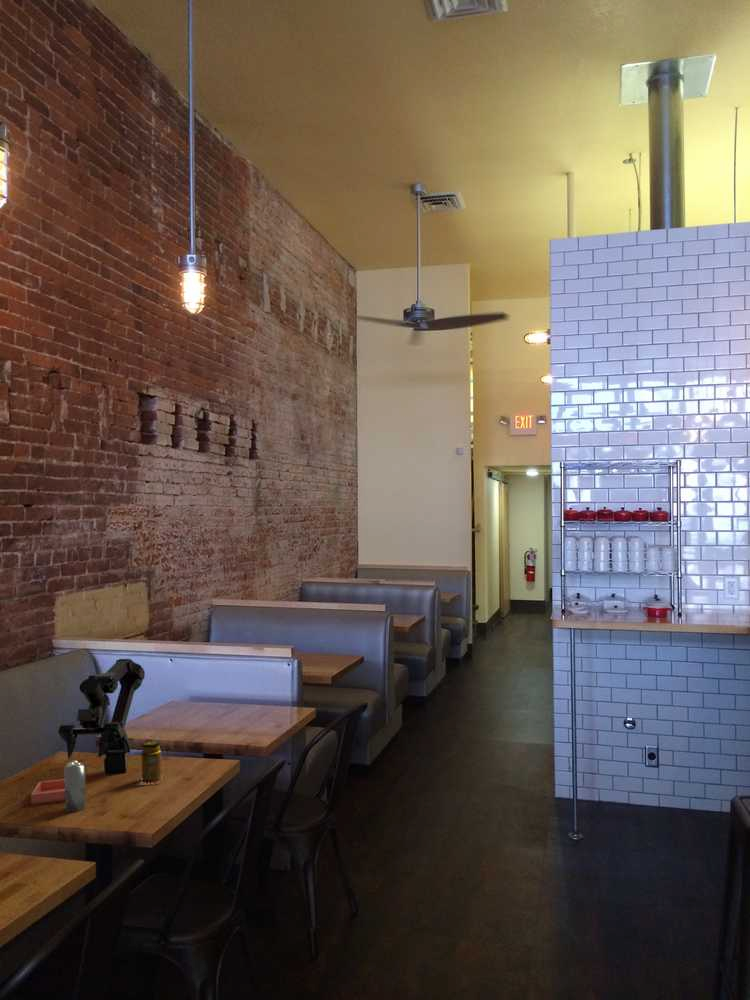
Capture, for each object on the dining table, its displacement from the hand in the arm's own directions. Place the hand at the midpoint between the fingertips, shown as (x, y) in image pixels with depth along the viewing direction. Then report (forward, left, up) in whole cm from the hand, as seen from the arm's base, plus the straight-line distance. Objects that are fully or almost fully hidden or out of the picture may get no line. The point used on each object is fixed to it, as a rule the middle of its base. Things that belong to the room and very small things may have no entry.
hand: (84, 757), depth 236 cm
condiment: (-18, -11, -13) cm, 25 cm away
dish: (+10, -7, -13) cm, 17 cm away
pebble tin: (+2, +7, -13) cm, 15 cm away
